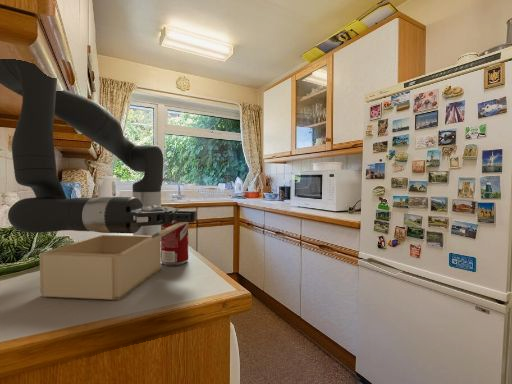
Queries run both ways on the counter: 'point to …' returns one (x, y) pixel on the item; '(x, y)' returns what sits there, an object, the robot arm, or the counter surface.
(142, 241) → the flap
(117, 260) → the carton
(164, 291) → the counter surface
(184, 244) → the soda can
